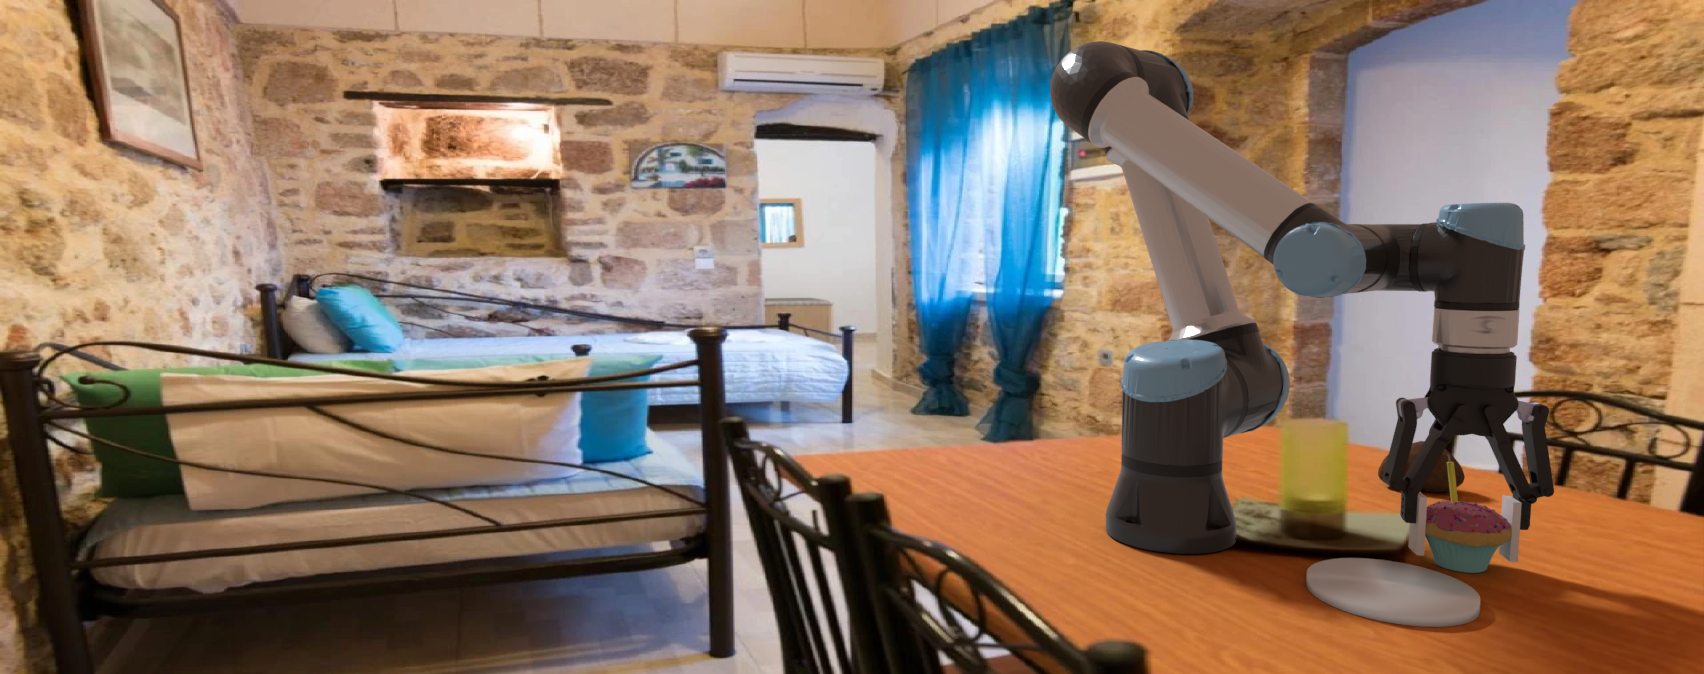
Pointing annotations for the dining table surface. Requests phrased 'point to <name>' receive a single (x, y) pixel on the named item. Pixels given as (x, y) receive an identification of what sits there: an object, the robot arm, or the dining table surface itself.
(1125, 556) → the dining table surface
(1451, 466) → the cupcake
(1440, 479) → the potato
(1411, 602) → the plate
